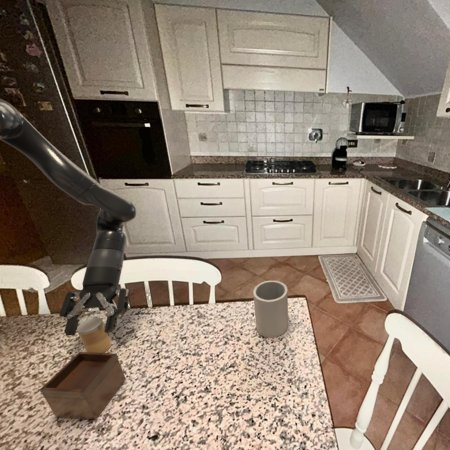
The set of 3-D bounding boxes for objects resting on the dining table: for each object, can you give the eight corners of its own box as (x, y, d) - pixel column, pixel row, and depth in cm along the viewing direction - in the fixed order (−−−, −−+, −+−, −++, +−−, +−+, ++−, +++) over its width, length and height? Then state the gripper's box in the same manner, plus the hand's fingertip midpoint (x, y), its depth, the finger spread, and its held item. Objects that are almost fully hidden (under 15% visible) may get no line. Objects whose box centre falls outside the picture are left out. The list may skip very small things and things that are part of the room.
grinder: (82, 356, 60) (70, 332, 57) (98, 340, 65) (88, 316, 62) (101, 357, 60) (90, 332, 57) (116, 341, 64) (107, 317, 61)
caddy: (55, 417, 48) (39, 389, 45) (91, 377, 55) (79, 351, 52) (95, 419, 47) (82, 392, 44) (126, 379, 55) (116, 353, 52)
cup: (250, 322, 71) (247, 288, 66) (276, 309, 76) (275, 276, 71) (267, 343, 64) (264, 306, 59) (294, 326, 69) (294, 292, 65)
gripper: (64, 266, 61) (43, 337, 55) (125, 263, 63) (111, 331, 57) (85, 273, 68) (69, 336, 62) (140, 269, 70) (129, 331, 63)
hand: (89, 334), depth 59 cm, fingers open, 8 cm apart
